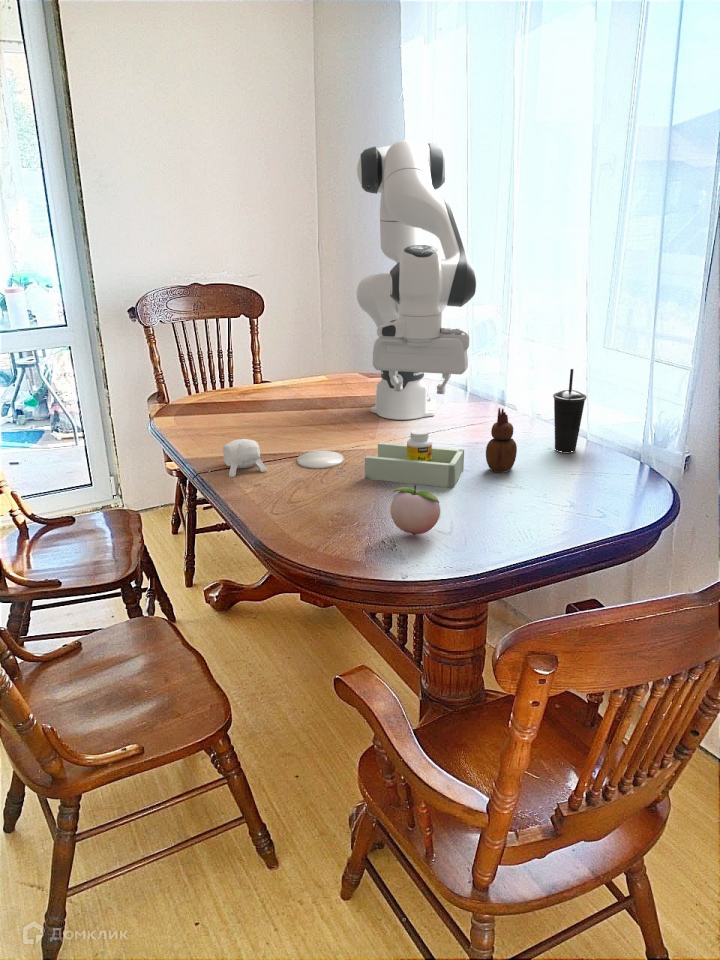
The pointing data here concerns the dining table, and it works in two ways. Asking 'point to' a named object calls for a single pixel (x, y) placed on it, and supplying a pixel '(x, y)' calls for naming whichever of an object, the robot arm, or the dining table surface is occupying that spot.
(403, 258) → the robot arm
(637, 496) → the dining table surface
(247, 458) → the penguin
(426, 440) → the supplement bottle
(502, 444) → the wooden figurine
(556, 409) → the drinking cup
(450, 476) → the green rectangular tray
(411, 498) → the decorative fruit
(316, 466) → the white round disc
